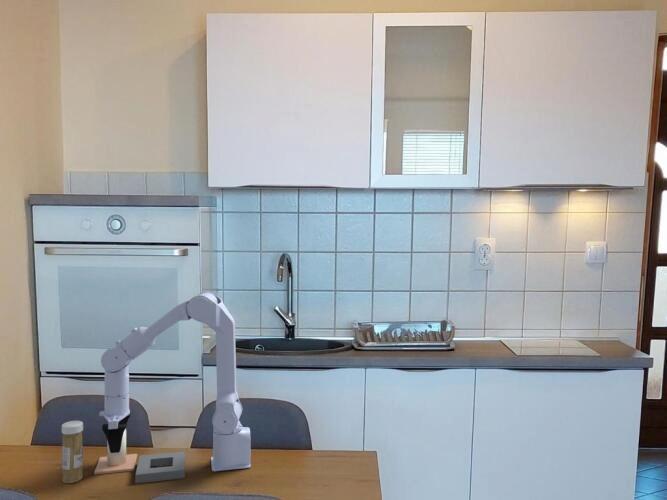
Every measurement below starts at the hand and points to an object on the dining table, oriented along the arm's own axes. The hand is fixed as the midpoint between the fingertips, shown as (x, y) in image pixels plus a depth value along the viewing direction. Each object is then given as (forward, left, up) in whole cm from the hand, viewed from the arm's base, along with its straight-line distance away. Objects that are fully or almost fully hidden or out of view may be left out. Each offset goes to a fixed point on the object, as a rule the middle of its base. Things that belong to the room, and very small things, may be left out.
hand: (116, 447), depth 132 cm
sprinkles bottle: (+9, +6, -5) cm, 12 cm away
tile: (0, 0, -4) cm, 4 cm away
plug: (0, 0, -4) cm, 4 cm away
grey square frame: (-11, +6, -4) cm, 13 cm away
